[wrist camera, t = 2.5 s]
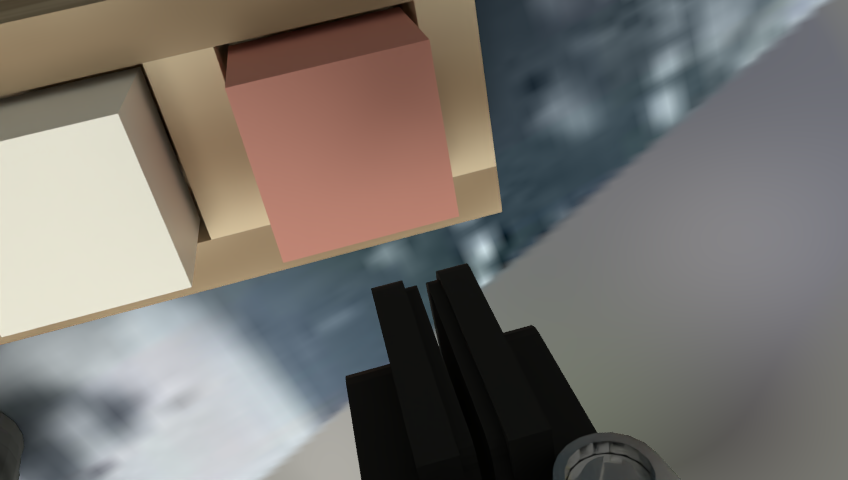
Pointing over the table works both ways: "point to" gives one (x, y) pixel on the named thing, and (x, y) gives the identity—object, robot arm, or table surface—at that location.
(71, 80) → the key box
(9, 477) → the beverage cup
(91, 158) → the white key
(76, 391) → the table surface
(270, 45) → the red key
